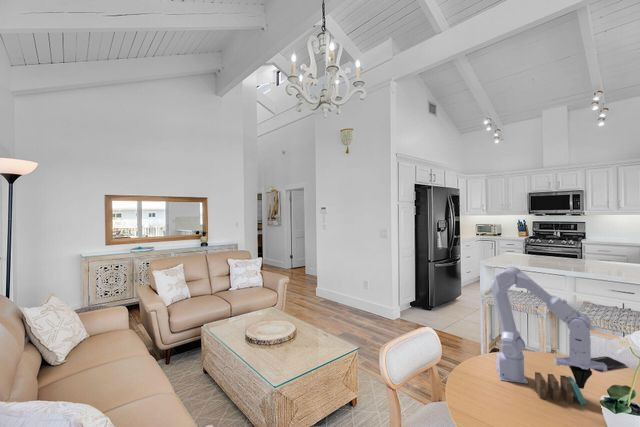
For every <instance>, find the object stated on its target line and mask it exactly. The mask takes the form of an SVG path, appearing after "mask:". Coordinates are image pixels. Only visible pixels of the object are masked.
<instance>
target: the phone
mask: <svg viewBox="0 0 640 427" xmlns="http://www.w3.org/2000/svg"><path fill="white" fill-rule="evenodd" d="M591 361H596V362H601V363H604V364H606V365H607V371H610V370H611V371H612V370H619V369H622V368H626V367H627V364H626V363H624V362H622V361H619V360H617V359H614V358H612V357H609V356H606V355H604V356H599V357H593V358H592V357H591ZM593 370H594V371H596V372H604V371H603V370H600V369H593Z"/></svg>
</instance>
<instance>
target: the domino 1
mask: <svg viewBox="0 0 640 427" xmlns="http://www.w3.org/2000/svg"><path fill="white" fill-rule="evenodd" d="M534 390H535V392H536V394H537V396H538V398H539V399H540V400H546V379H545V377H543V375H542V373H541V372H538V371H537V372H536V371H535V372H534Z"/></svg>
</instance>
